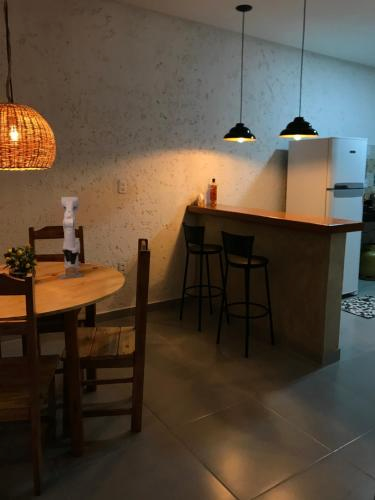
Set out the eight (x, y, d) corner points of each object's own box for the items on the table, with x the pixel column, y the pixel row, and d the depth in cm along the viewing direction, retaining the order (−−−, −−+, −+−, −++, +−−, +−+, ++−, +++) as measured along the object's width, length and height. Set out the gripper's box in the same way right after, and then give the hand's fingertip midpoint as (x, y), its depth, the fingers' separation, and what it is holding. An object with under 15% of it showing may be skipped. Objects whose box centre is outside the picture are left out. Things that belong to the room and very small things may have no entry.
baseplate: (58, 276, 234) (58, 275, 233) (79, 273, 240) (79, 272, 240) (62, 279, 228) (62, 278, 228) (83, 276, 235) (83, 275, 234)
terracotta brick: (67, 273, 242) (67, 266, 241) (75, 272, 245) (75, 265, 244) (70, 274, 239) (70, 268, 238) (78, 273, 241) (77, 267, 240)
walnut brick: (65, 274, 234) (65, 268, 234) (73, 273, 237) (73, 267, 236) (68, 276, 231) (68, 269, 230) (76, 275, 233) (76, 268, 233)
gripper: (58, 238, 233) (59, 261, 236) (66, 242, 222) (67, 266, 224) (70, 237, 237) (71, 259, 240) (79, 241, 226) (80, 264, 228)
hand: (70, 263), depth 233 cm, fingers open, 7 cm apart
